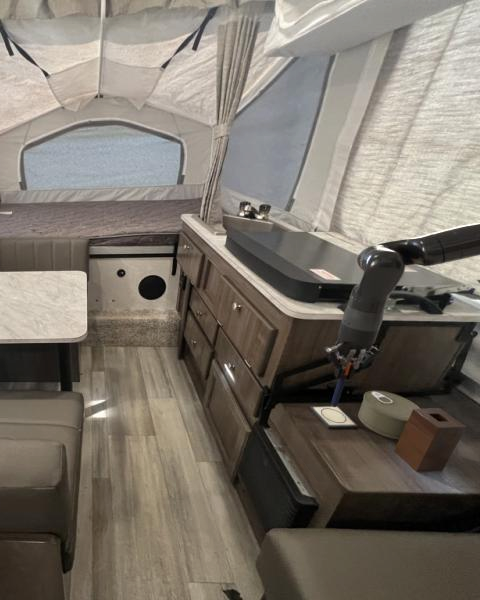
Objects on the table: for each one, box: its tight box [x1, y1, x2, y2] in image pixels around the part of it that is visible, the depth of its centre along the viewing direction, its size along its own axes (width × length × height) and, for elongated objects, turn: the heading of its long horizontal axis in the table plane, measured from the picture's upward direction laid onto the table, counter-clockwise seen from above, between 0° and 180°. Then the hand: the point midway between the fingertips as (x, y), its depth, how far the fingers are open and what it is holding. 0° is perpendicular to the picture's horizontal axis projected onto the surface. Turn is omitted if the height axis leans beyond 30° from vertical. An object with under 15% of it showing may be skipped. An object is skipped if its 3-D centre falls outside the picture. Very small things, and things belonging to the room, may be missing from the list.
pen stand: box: [393, 407, 467, 473], centre depth 75 cm, size 6×6×14 cm
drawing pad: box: [309, 405, 359, 429], centre depth 91 cm, size 8×8×1 cm
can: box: [357, 390, 421, 441], centre depth 87 cm, size 12×12×7 cm
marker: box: [330, 363, 351, 407], centre depth 88 cm, size 2×2×15 cm
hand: (342, 377), depth 87 cm, fingers closed on marker, 1 cm apart
